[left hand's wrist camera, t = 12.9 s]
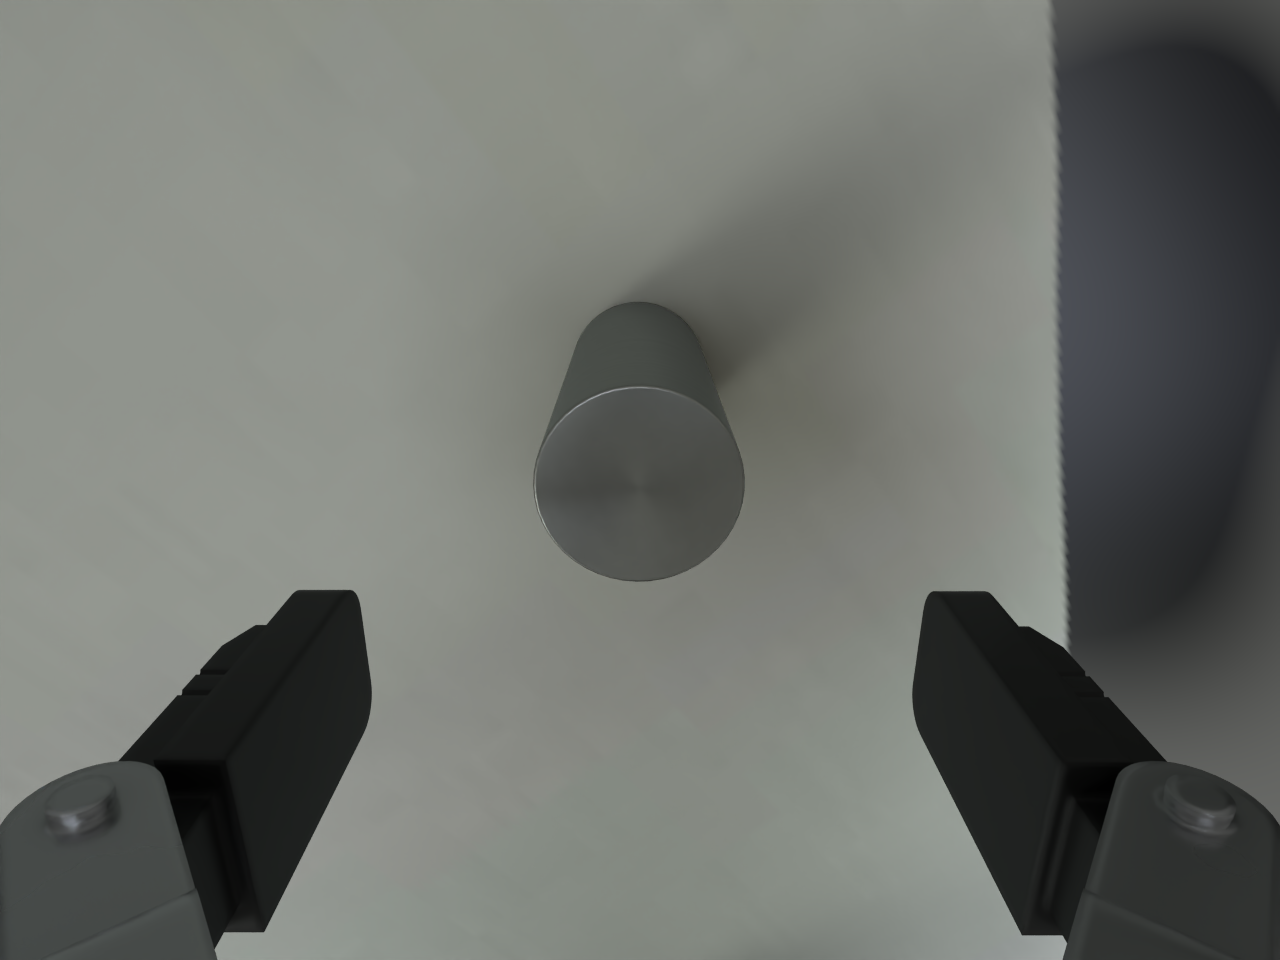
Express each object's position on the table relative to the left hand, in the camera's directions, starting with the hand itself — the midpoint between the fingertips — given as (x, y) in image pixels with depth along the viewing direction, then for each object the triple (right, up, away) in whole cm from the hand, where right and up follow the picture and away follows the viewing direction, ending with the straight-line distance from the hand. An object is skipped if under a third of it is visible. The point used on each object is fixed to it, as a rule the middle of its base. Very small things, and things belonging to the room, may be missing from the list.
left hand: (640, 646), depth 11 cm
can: (0, +6, +15) cm, 16 cm away
